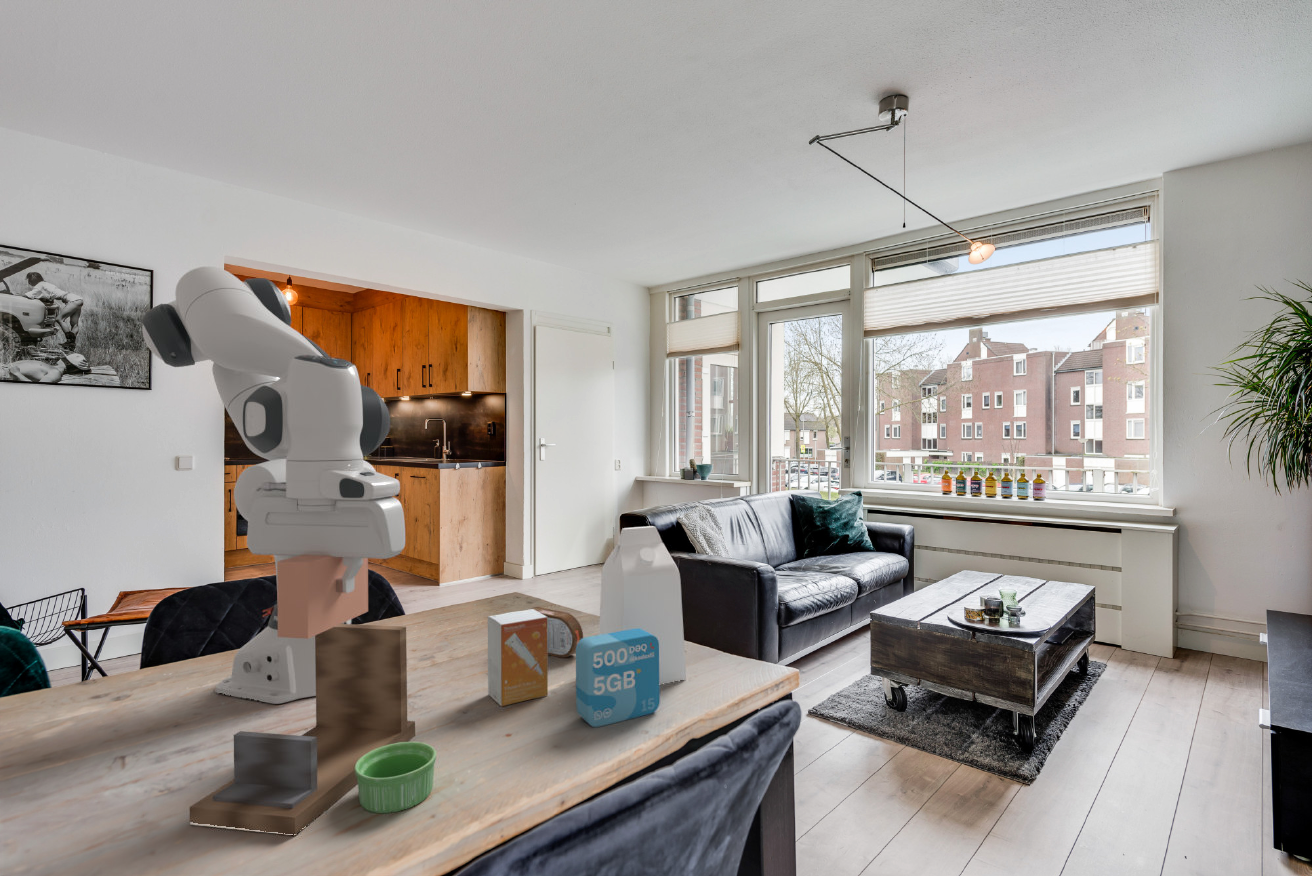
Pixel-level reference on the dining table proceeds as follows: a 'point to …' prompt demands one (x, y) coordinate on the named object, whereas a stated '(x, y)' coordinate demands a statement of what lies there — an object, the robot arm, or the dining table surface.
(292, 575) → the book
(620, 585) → the milk
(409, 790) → the ramekin
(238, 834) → the dining table surface
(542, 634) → the small box
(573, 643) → the tin
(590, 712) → the data package
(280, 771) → the shelf stand
